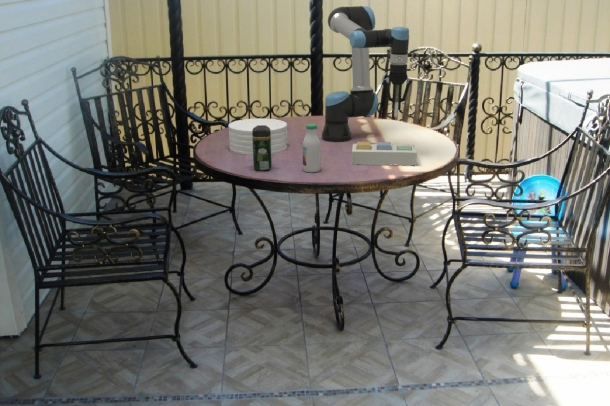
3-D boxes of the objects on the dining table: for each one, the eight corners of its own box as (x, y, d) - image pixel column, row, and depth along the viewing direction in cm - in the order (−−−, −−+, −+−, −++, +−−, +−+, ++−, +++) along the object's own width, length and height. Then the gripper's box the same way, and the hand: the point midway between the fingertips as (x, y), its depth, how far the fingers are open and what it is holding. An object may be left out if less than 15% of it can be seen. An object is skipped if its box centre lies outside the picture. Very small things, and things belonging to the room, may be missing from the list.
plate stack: (254, 138, 341) (253, 116, 337) (298, 145, 325) (298, 122, 321) (217, 149, 319) (216, 126, 315) (262, 158, 304) (262, 133, 300)
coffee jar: (253, 165, 292) (252, 124, 285) (271, 165, 292) (270, 123, 286) (252, 171, 282) (251, 129, 276) (271, 171, 283) (270, 128, 277)
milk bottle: (322, 168, 286) (323, 123, 280) (317, 173, 279) (317, 127, 273) (306, 167, 289) (305, 122, 282) (300, 172, 282) (299, 125, 275)
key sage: (397, 158, 293) (397, 149, 292) (396, 154, 299) (397, 146, 297) (411, 158, 293) (411, 149, 291) (410, 154, 298) (410, 146, 297)
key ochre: (356, 153, 294) (357, 144, 293) (357, 150, 300) (357, 141, 298) (370, 153, 294) (370, 145, 292) (370, 150, 299) (370, 141, 298)
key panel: (351, 164, 292) (352, 151, 290) (352, 156, 305) (352, 143, 303) (416, 165, 289) (416, 152, 287) (414, 157, 303) (414, 144, 301)
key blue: (377, 154, 293) (377, 145, 292) (377, 150, 299) (377, 141, 298) (390, 154, 293) (391, 145, 291) (390, 150, 298) (390, 142, 297)
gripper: (383, 64, 287) (381, 118, 296) (414, 65, 286) (410, 118, 295) (383, 62, 294) (381, 114, 303) (413, 62, 293) (409, 114, 302)
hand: (395, 116), depth 299 cm, fingers closed
